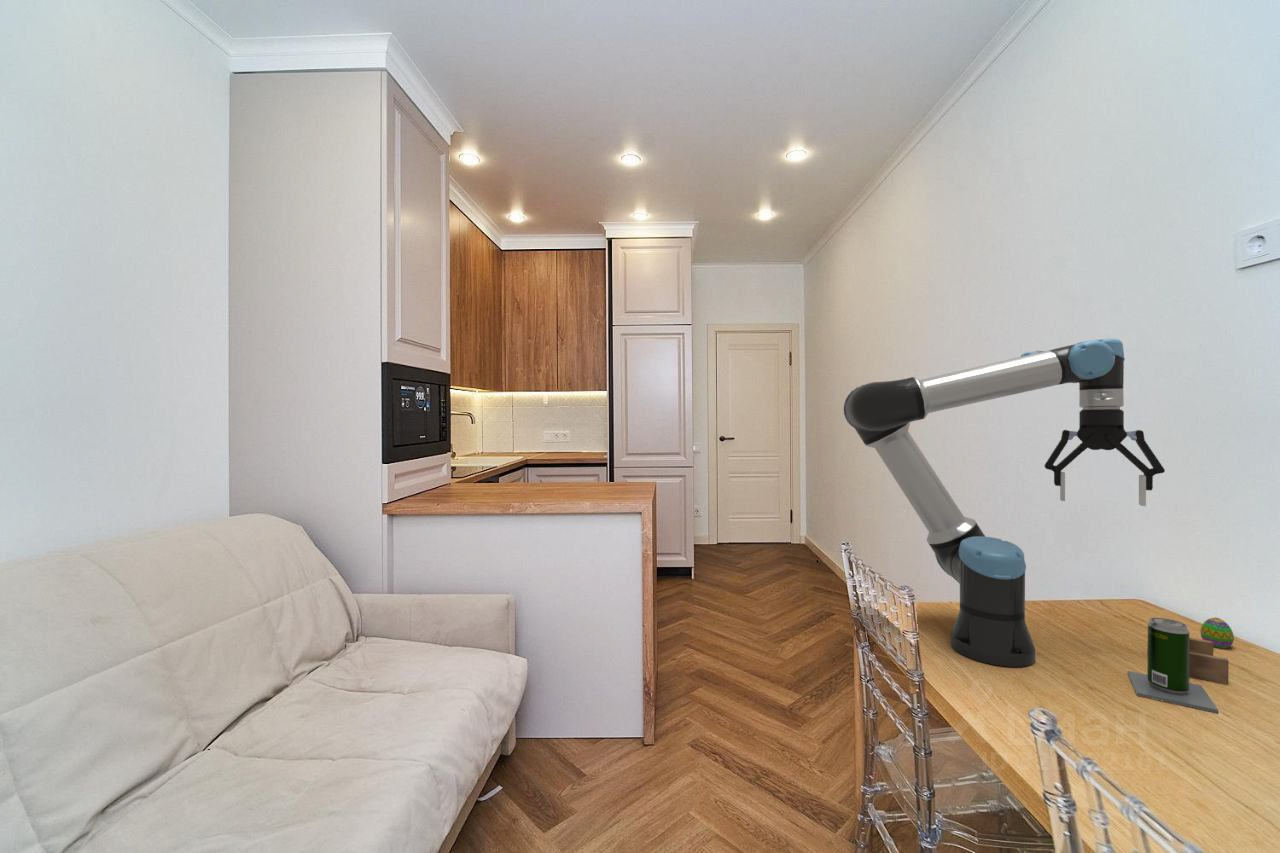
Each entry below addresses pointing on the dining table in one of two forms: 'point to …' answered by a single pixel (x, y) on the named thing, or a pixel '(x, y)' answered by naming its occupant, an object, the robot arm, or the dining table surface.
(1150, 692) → the coaster
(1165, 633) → the beer can
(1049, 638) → the dining table surface
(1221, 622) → the egg
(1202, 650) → the rack
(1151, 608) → the dining table surface
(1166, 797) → the dining table surface
